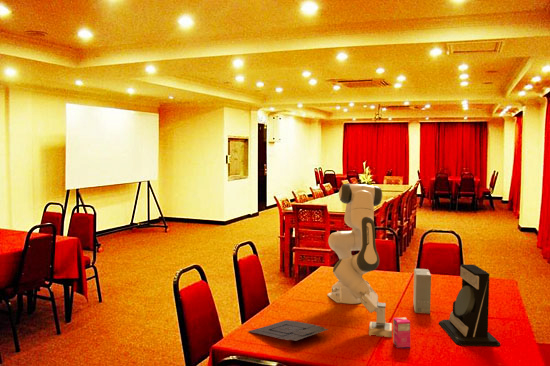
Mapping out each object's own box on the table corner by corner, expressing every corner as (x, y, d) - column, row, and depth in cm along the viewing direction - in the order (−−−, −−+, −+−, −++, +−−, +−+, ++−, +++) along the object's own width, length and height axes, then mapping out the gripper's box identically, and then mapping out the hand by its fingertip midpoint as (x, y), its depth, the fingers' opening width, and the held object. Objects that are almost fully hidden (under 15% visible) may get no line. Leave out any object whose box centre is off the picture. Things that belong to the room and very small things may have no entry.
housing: (376, 324, 227) (376, 305, 226) (376, 320, 232) (376, 302, 231) (385, 325, 226) (385, 306, 225) (385, 321, 231) (385, 303, 230)
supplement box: (392, 343, 216) (392, 317, 215) (406, 343, 216) (406, 317, 215) (397, 348, 210) (397, 322, 209) (410, 348, 210) (411, 321, 210)
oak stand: (368, 335, 225) (369, 328, 225) (370, 327, 235) (370, 321, 235) (391, 337, 223) (391, 330, 223) (391, 329, 233) (392, 322, 233)
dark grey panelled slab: (292, 348, 207) (292, 339, 207) (248, 337, 229) (247, 329, 229) (332, 334, 223) (331, 326, 223) (286, 325, 245) (286, 318, 246)
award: (437, 322, 243) (438, 261, 242) (476, 322, 243) (477, 261, 241) (457, 346, 213) (459, 276, 211) (502, 347, 212) (504, 277, 211)
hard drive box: (430, 314, 256) (431, 275, 254) (415, 313, 257) (415, 274, 256) (427, 305, 271) (428, 268, 270) (412, 304, 272) (413, 268, 271)
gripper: (364, 291, 219) (387, 314, 218) (367, 279, 239) (387, 301, 238) (354, 300, 221) (376, 324, 219) (357, 288, 241) (377, 310, 239)
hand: (382, 312), depth 228 cm, fingers closed on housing, 4 cm apart
